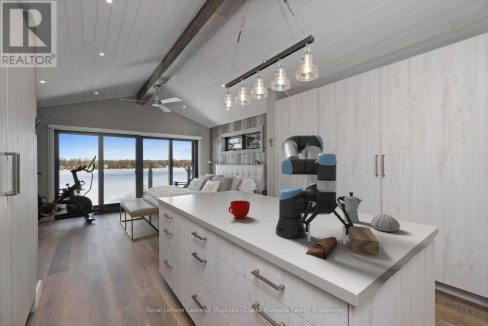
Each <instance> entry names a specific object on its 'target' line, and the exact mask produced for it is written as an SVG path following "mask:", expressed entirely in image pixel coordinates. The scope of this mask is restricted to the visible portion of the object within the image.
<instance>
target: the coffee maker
mask: <svg viewBox="0 0 488 326" xmlns="http://www.w3.org/2000/svg"><path fill="white" fill-rule="evenodd" d="M341 201H342V202H343V203H344V204H345V209H346V211H347V213H348V215H349V217H350V219H351V221H352V223H353V224H358V223H359V222H360V220H359V214H358V209H359V205H360V204H361V203H362V202H363V199H360V198H359V197H356V196H354V192H352V191H349V195H348V196H347V195H344V196H338V197H336V202H337V203H341ZM343 215H344V214H343ZM343 220H344V221H345V222H346V223H348V221H347V219H346V217H345V215H344V216H343Z"/></svg>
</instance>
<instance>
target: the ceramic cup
mask: <svg viewBox="0 0 488 326" xmlns="http://www.w3.org/2000/svg"><path fill="white" fill-rule="evenodd" d="M229 204H230V205H229V207H228V209H227V210H228V212H229V213H230V214H231V215H232V216H233V217H234V218H235V219H237V220H238V219H240V220H242V219H246V217H247V216H248V215H249V213H250V207H251V203H250V201H248V200H241V199H240V200H239V199H238V200H233V201H232V200H231V201H230V203H229Z"/></svg>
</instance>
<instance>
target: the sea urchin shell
mask: <svg viewBox="0 0 488 326" xmlns="http://www.w3.org/2000/svg"><path fill="white" fill-rule="evenodd" d="M370 224H371V227H372V228H374V229H375V230H377V231H381V232H390V233H391V232H397V231H399V230H400V228H401V225H400V223H399V221H398V220H397V219H396V218H394V217H393V216H391V215H388V214H377V215H375V216H374V217H373V218H372V219H371V221H370Z"/></svg>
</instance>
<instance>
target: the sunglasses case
mask: <svg viewBox="0 0 488 326" xmlns="http://www.w3.org/2000/svg"><path fill="white" fill-rule="evenodd" d="M337 245H338V239H337V238H336V237H335V236H329V237H325V238H322V239H320V240H317V241H316V242H315V243H314V244H313V245H312V246H311V247H309V248H308V249H307V250H306V252H305V255H307V256H311V257H315V258H318V259H322V260H327V258H328V257H329V256H330V254H331V253H332V251H334V249H335V247H336V246H337Z"/></svg>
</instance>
